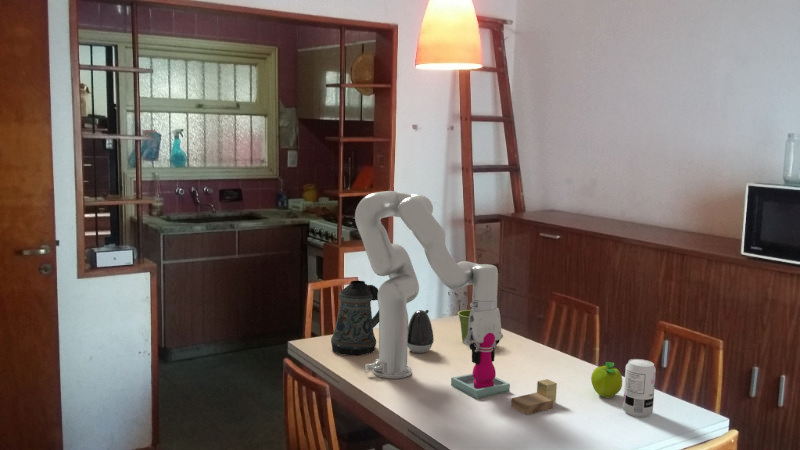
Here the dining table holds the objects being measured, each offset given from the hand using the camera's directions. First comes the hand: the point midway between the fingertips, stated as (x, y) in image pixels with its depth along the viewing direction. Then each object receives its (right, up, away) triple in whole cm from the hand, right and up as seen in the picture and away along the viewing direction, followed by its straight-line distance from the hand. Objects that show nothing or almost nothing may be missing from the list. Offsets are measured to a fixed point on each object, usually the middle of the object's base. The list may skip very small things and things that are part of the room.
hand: (483, 361), depth 224 cm
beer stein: (-42, -3, +39) cm, 57 cm away
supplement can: (+43, -12, -15) cm, 47 cm away
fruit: (+38, -11, -2) cm, 39 cm away
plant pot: (+2, -3, +51) cm, 51 cm away
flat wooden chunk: (+13, -12, -13) cm, 22 cm away
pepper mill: (0, -8, +1) cm, 8 cm away
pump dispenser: (-19, -4, +38) cm, 43 cm away
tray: (-1, -9, +1) cm, 9 cm away
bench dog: (+18, -11, -8) cm, 22 cm away
